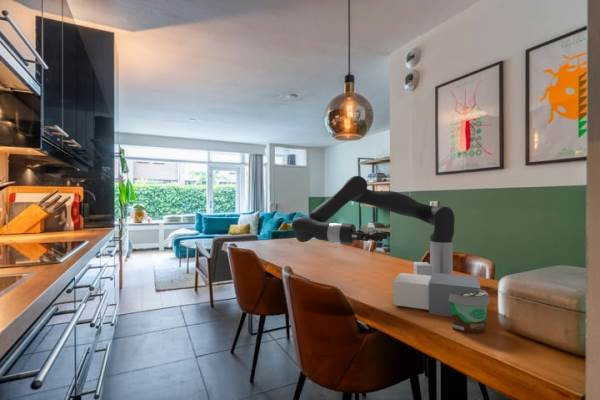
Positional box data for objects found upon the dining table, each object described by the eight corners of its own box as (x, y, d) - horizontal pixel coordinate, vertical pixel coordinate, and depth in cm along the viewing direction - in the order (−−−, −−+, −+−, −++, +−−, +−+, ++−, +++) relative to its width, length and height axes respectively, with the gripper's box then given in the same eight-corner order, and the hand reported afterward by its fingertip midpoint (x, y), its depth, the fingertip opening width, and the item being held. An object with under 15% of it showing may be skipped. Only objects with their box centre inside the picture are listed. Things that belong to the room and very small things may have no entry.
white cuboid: (393, 304, 102) (393, 281, 102) (400, 293, 114) (400, 272, 114) (479, 316, 90) (479, 290, 90) (477, 303, 103) (476, 279, 103)
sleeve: (429, 313, 96) (428, 282, 96) (432, 299, 110) (432, 272, 110) (481, 321, 89) (480, 288, 89) (477, 305, 103) (477, 276, 104)
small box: (432, 293, 118) (432, 265, 118) (417, 292, 119) (416, 265, 119) (428, 287, 126) (427, 262, 126) (413, 287, 127) (413, 261, 127)
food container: (469, 339, 77) (468, 299, 77) (448, 330, 83) (448, 293, 83) (501, 331, 82) (500, 293, 82) (479, 323, 88) (479, 288, 88)
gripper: (335, 223, 110) (381, 227, 103) (347, 222, 123) (389, 225, 116) (334, 244, 110) (380, 249, 103) (346, 241, 123) (388, 245, 116)
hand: (385, 237), depth 109 cm, fingers open, 8 cm apart
